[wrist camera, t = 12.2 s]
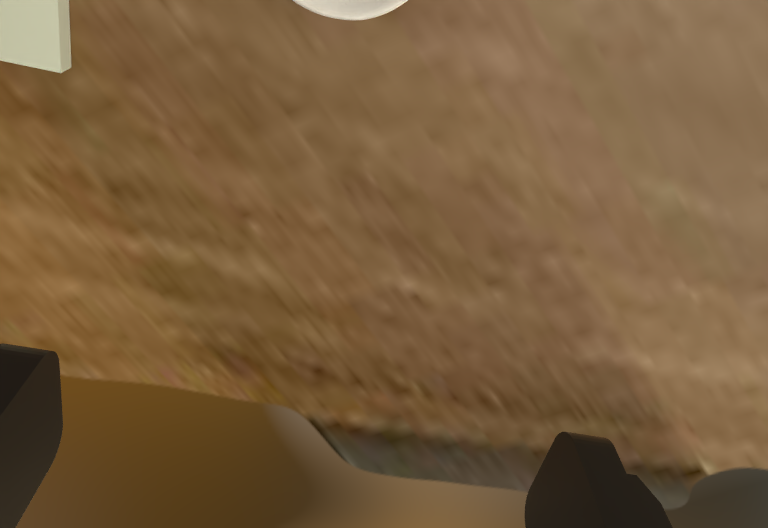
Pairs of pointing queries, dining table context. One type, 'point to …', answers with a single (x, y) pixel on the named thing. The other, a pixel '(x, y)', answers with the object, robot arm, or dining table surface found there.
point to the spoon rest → (350, 8)
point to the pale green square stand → (36, 33)
